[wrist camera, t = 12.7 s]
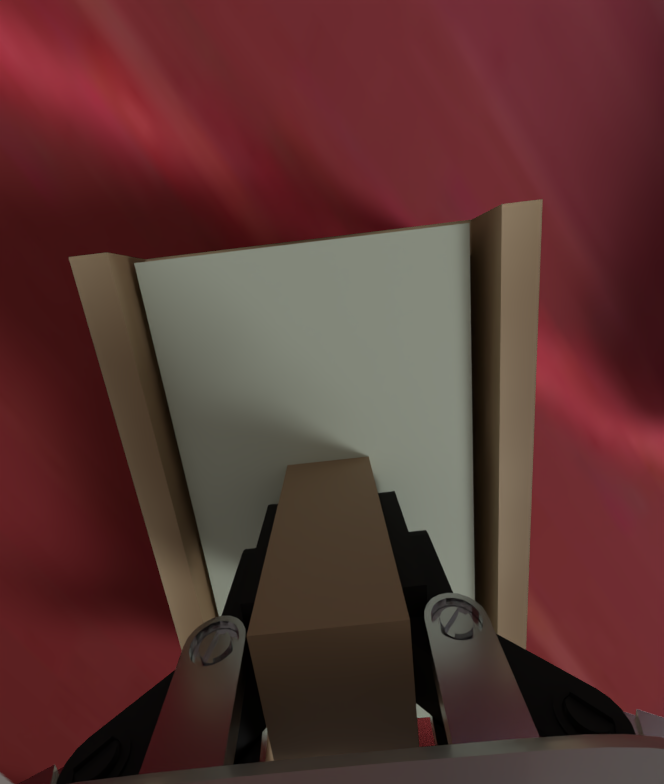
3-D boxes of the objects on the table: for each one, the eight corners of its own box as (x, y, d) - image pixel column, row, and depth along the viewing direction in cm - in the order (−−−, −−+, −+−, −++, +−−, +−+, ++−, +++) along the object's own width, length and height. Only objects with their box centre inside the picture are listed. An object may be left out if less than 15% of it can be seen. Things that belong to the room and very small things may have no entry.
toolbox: (273, 660, 24) (242, 861, 16) (194, 274, 18) (68, 257, 9) (450, 643, 24) (518, 838, 16) (437, 245, 18) (542, 199, 9)
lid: (253, 701, 16) (193, 1023, 9) (154, 266, 11) (-137, 217, 4) (465, 681, 16) (576, 993, 9) (454, 230, 11) (675, 116, 4)
